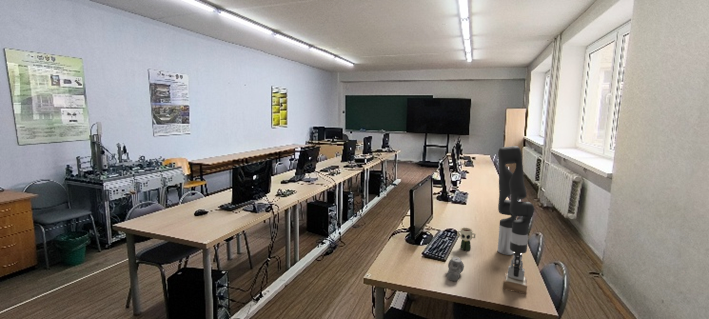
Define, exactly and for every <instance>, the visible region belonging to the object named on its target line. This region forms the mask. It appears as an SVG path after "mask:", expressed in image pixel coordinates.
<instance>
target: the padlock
mask: <svg viewBox="0 0 709 319" xmlns="http://www.w3.org/2000/svg"><path fill="white" fill-rule="evenodd" d="M513 259H514V258H513V257H512V259H511V261H510V265H508V267H507V273H508V277H511V278H514V279H519V280H524V277H525V268H523V267H524V262H523V260H521V265H520V270H519V276H518V277H516V276H514V264H513ZM515 267H516V266H515Z"/></svg>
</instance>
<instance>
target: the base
mask: <svg viewBox="0 0 709 319" xmlns="http://www.w3.org/2000/svg"><path fill="white" fill-rule="evenodd" d="M506 289H507V290H508V291H511V290H512V292H515V291H516V293H519V292H520V294H525V295H527V293H528V292H527V290H528V277H527V276H524V280H519V279H514V278H511V277H508V272H505V273H504V281H503V290H506Z"/></svg>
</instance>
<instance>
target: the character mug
mask: <svg viewBox="0 0 709 319" xmlns="http://www.w3.org/2000/svg"><path fill="white" fill-rule="evenodd" d="M456 233H457V235H456V236H458V237H460V240H461V242H460V246H459V247H460V249H461V250H465V251H470V250H471V247H472V246H471V241H472V239H476V233H474V232H473V229H472V228H470V227H461V228H460V230H457V232H456Z"/></svg>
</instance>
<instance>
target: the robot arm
mask: <svg viewBox="0 0 709 319" xmlns="http://www.w3.org/2000/svg"><path fill="white" fill-rule="evenodd" d="M497 156H498V157H497V158H498V169H499V170H498V171H499V172H498V191H499V192H498V193H499V194H498V207H497V208H498V209H497V210H498V213H499V214H501V215H503V216H504V215H505V216H506V215H507V216H509V217H507V218H502V219H500V220H499V226H498V240H497V241H498V242H497V253H500V254H503V255H504V256H505V255H507V256H512V255H513V256H512V259H513V258H514V259H513V266H514V276H516V277H518V276H519V270H520V265H521V261H523V254H526V253H527V252H528V242H529V241H528V240H529V236H528V234H529V225H530V223H531V220H532V218H533V216H534V214H535V206H534V204H533V203H532V202H530V201H519V200H524V199H526V198H527V195H528V194H527V189H526V184H525V180H524V179H525V178H524V167H523V166H524V165H523V164H524V163H523V155H522V150H521V147H519V146H517V145H514V146H513V145H511V146H503V147H500V148H499V149H498V154H497ZM512 164H515V168H514V172H512V171H511V170H510V169H509V168H508V166H507V165H512ZM509 196H510V199H508V198H509ZM518 217H521V218H519V219H517V218H518ZM515 266H516V267H515Z"/></svg>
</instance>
